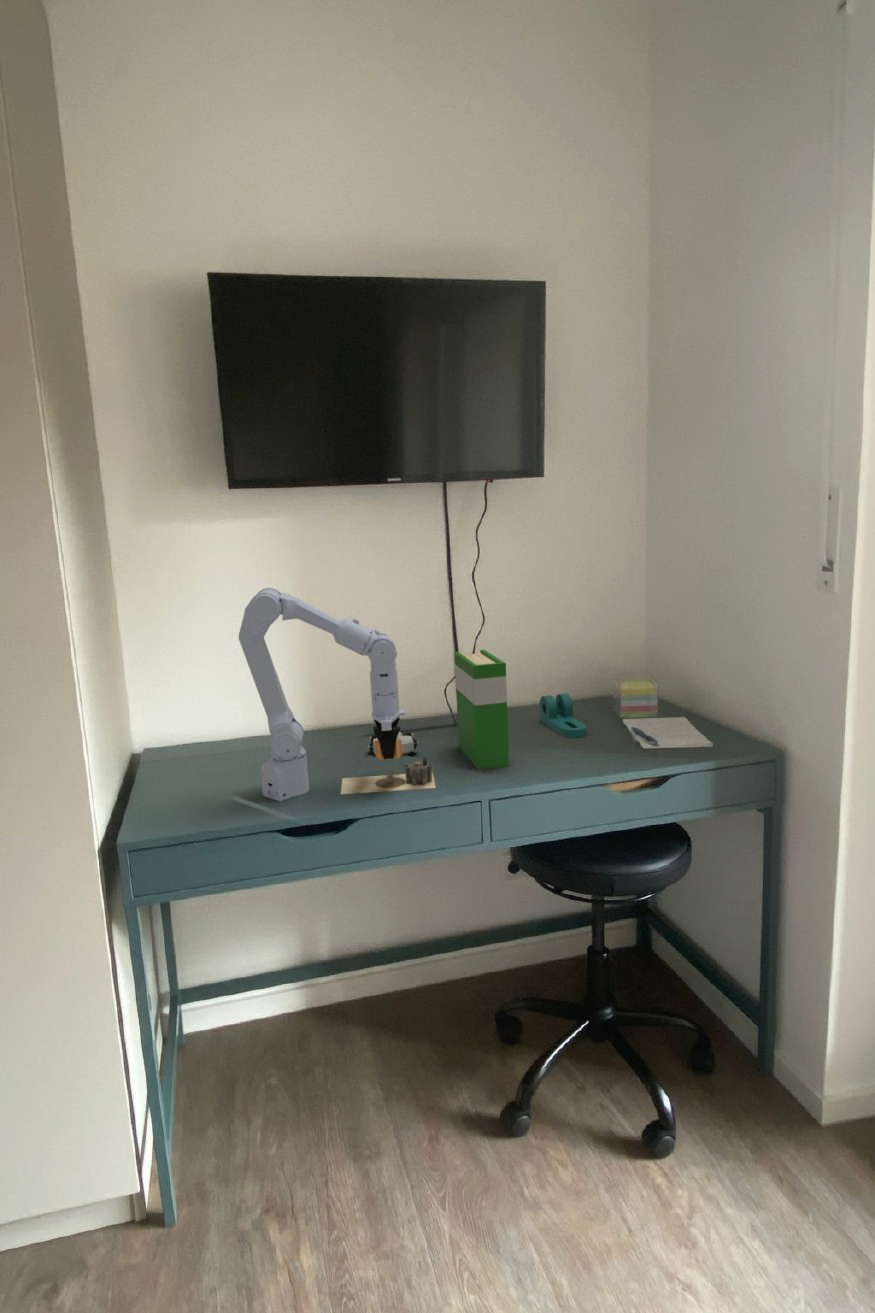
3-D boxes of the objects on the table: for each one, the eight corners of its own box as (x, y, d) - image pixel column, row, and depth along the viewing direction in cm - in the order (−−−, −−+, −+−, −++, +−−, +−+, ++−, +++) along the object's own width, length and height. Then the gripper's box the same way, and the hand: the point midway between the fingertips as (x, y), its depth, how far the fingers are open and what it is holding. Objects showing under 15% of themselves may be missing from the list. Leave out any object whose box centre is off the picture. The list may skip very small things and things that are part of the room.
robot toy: (367, 748, 208) (369, 762, 193) (366, 730, 208) (367, 743, 193) (415, 744, 209) (420, 758, 195) (414, 727, 209) (419, 739, 194)
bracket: (540, 721, 222) (539, 693, 220) (563, 719, 223) (562, 691, 222) (566, 740, 205) (565, 709, 203) (591, 736, 206) (590, 706, 205)
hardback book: (458, 747, 202) (454, 652, 198) (487, 744, 204) (484, 649, 199) (477, 769, 185) (473, 666, 181) (509, 765, 187) (505, 663, 182)
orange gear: (389, 761, 171) (388, 745, 171) (370, 757, 175) (369, 741, 174) (407, 754, 175) (406, 738, 175) (388, 750, 179) (387, 734, 179)
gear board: (340, 798, 171) (338, 771, 170) (342, 782, 181) (341, 756, 180) (435, 792, 172) (434, 764, 171) (433, 776, 182) (431, 750, 181)
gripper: (404, 699, 166) (408, 763, 168) (402, 683, 180) (406, 742, 182) (369, 701, 165) (374, 765, 168) (370, 685, 179) (374, 744, 182)
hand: (388, 753), depth 175 cm, fingers closed on orange gear, 6 cm apart
